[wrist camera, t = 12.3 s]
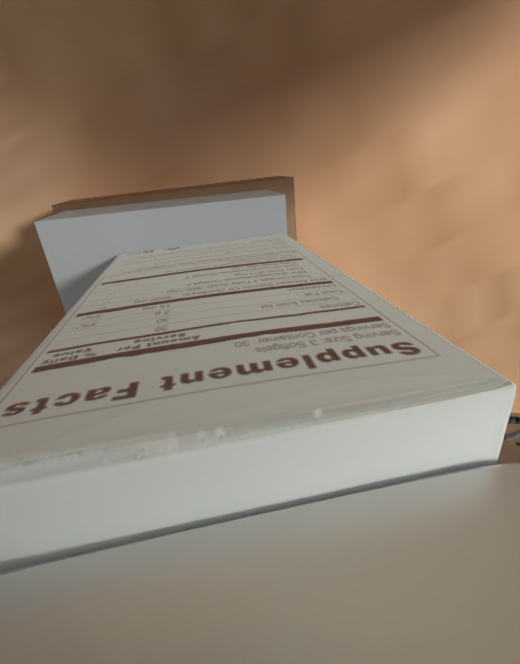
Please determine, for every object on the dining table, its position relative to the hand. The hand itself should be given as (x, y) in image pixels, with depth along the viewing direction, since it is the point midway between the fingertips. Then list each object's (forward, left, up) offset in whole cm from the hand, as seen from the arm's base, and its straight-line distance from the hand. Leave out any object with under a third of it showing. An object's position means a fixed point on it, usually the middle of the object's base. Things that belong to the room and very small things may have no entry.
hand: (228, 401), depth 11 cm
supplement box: (0, 0, -7) cm, 7 cm away
